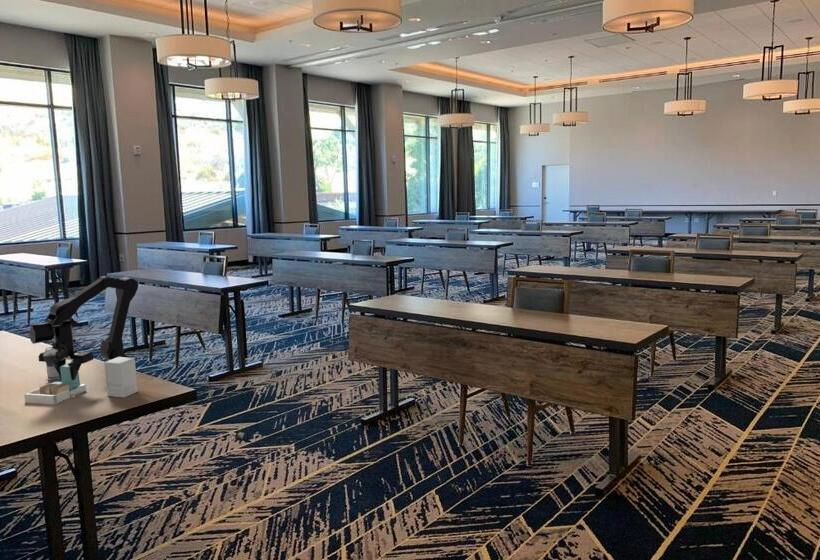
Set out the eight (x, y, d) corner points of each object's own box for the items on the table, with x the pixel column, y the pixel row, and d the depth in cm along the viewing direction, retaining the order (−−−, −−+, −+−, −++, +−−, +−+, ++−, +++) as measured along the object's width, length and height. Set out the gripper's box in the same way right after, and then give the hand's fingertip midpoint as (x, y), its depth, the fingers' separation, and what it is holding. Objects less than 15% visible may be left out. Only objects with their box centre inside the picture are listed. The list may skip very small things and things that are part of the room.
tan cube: (58, 394, 227) (57, 383, 227) (50, 398, 224) (49, 387, 223) (49, 393, 228) (47, 383, 228) (40, 397, 224) (39, 386, 224)
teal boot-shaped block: (65, 385, 236) (61, 362, 234) (86, 386, 234) (83, 363, 232) (49, 393, 228) (45, 370, 226) (70, 395, 227) (67, 371, 225)
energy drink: (56, 380, 244) (53, 350, 242) (44, 379, 245) (41, 349, 243) (66, 376, 249) (63, 346, 247) (54, 375, 250) (51, 346, 248)
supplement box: (138, 391, 230) (135, 357, 228) (123, 398, 223) (120, 363, 221) (122, 389, 232) (119, 356, 230) (106, 396, 225) (103, 361, 223)
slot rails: (86, 390, 231) (85, 384, 231) (71, 397, 224) (70, 391, 223) (54, 388, 234) (54, 382, 233) (39, 395, 226) (38, 389, 226)
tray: (69, 397, 224) (69, 389, 223) (55, 404, 217) (54, 396, 217) (40, 395, 226) (39, 387, 226) (25, 402, 220) (24, 394, 219)
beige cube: (70, 395, 226) (69, 384, 226) (62, 399, 223) (61, 388, 222) (60, 394, 227) (59, 384, 227) (52, 398, 223) (51, 387, 223)
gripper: (24, 342, 223) (29, 385, 225) (70, 344, 219) (74, 388, 222) (48, 334, 234) (52, 375, 236) (92, 336, 230) (96, 378, 232)
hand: (68, 379), depth 231 cm, fingers closed on teal boot-shaped block, 4 cm apart
